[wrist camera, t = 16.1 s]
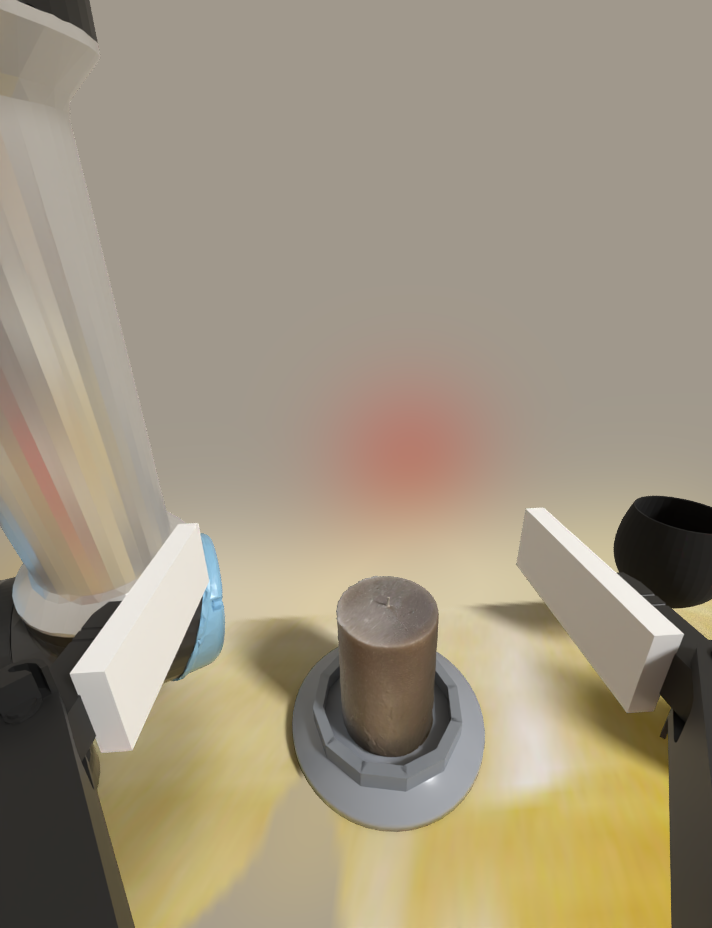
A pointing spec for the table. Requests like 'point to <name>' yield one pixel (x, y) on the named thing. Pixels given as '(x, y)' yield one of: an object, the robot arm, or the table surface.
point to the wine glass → (668, 549)
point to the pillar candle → (387, 663)
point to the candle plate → (389, 778)
